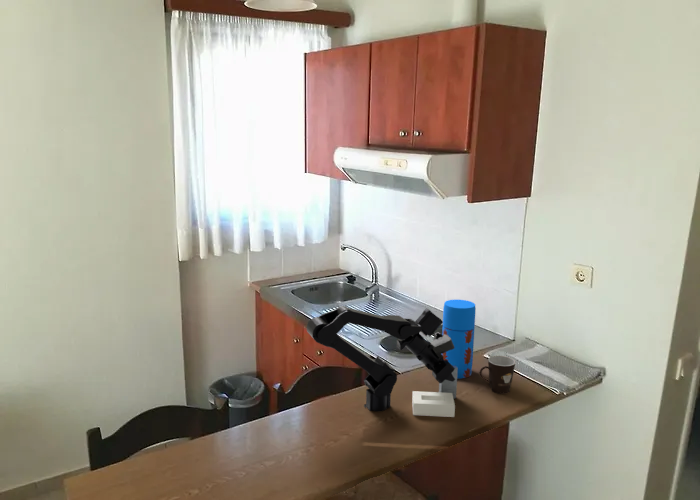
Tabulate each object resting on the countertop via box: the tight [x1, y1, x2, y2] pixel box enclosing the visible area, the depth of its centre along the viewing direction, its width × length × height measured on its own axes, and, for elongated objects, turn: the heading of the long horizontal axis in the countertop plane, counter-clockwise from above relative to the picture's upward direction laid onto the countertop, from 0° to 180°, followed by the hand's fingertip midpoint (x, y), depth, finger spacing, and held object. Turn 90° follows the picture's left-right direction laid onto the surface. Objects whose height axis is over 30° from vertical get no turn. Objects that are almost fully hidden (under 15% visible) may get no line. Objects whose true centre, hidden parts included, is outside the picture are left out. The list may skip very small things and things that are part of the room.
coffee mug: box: [479, 355, 516, 395], centre depth 183 cm, size 12×9×10 cm
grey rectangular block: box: [438, 365, 458, 399], centre depth 175 cm, size 5×2×10 cm, turn 101°
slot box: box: [411, 390, 456, 418], centre depth 168 cm, size 12×8×4 cm, turn 86°
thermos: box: [441, 299, 476, 379], centre depth 195 cm, size 11×11×25 cm
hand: (452, 378), depth 175 cm, fingers closed on grey rectangular block, 2 cm apart
